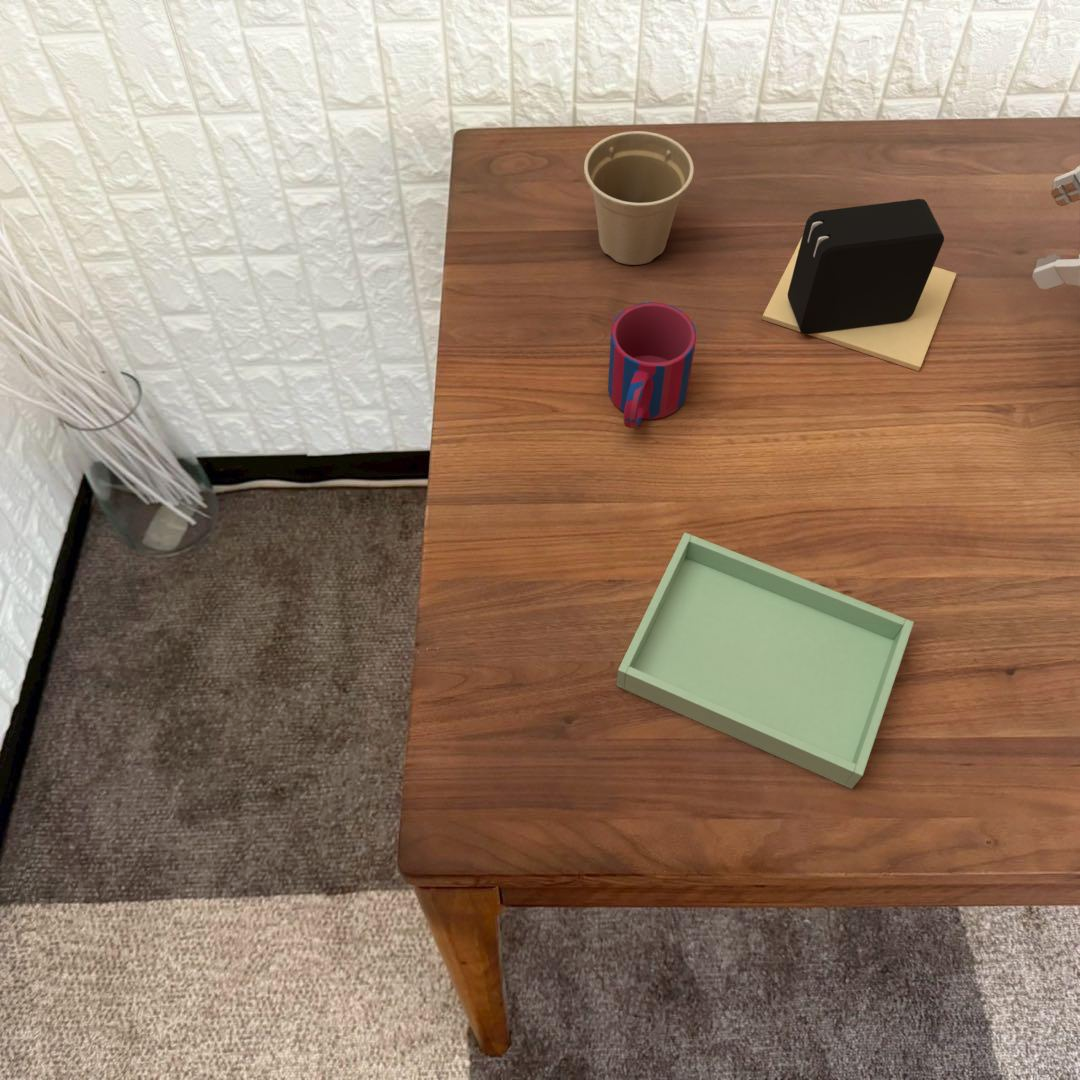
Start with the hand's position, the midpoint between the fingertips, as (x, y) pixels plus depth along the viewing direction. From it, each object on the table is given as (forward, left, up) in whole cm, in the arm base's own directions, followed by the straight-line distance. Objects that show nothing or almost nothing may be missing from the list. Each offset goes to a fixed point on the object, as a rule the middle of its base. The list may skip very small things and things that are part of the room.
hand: (1046, 233), depth 76 cm
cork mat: (+11, -1, -12) cm, 17 cm away
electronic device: (+12, +2, -12) cm, 17 cm away
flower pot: (+32, +1, -13) cm, 35 cm away
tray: (+7, +36, -12) cm, 39 cm away
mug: (+24, +18, -13) cm, 33 cm away
